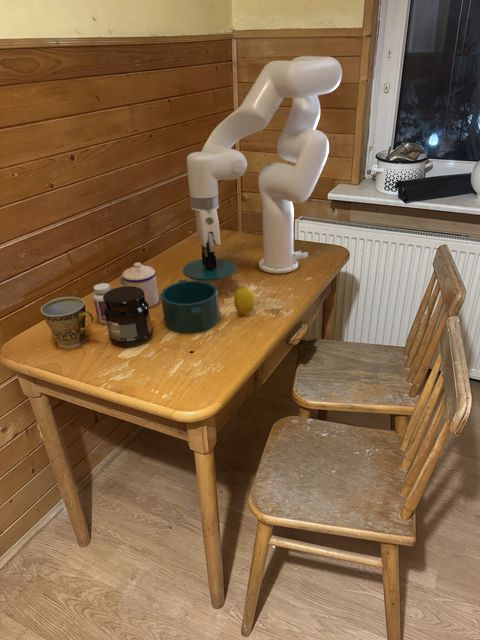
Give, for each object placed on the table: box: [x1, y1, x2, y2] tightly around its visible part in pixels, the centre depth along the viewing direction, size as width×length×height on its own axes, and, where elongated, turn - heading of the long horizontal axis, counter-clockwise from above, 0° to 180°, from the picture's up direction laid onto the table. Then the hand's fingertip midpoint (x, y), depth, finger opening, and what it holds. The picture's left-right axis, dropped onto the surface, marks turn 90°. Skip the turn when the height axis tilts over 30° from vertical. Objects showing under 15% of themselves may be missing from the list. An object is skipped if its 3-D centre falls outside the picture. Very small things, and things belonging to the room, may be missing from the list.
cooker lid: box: [182, 251, 237, 282], centre depth 143 cm, size 15×15×6 cm
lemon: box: [233, 286, 256, 316], centre depth 133 cm, size 6×6×8 cm
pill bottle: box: [92, 282, 111, 325], centre depth 132 cm, size 5×5×10 cm
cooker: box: [160, 279, 220, 334], centre depth 131 cm, size 14×20×8 cm
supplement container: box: [103, 286, 153, 348], centre depth 123 cm, size 10×10×12 cm
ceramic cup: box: [40, 296, 95, 350], centre depth 122 cm, size 13×10×10 cm
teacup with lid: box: [118, 262, 160, 308], centre depth 140 cm, size 12×9×12 cm
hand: (209, 266), depth 144 cm, fingers closed on cooker lid, 2 cm apart
